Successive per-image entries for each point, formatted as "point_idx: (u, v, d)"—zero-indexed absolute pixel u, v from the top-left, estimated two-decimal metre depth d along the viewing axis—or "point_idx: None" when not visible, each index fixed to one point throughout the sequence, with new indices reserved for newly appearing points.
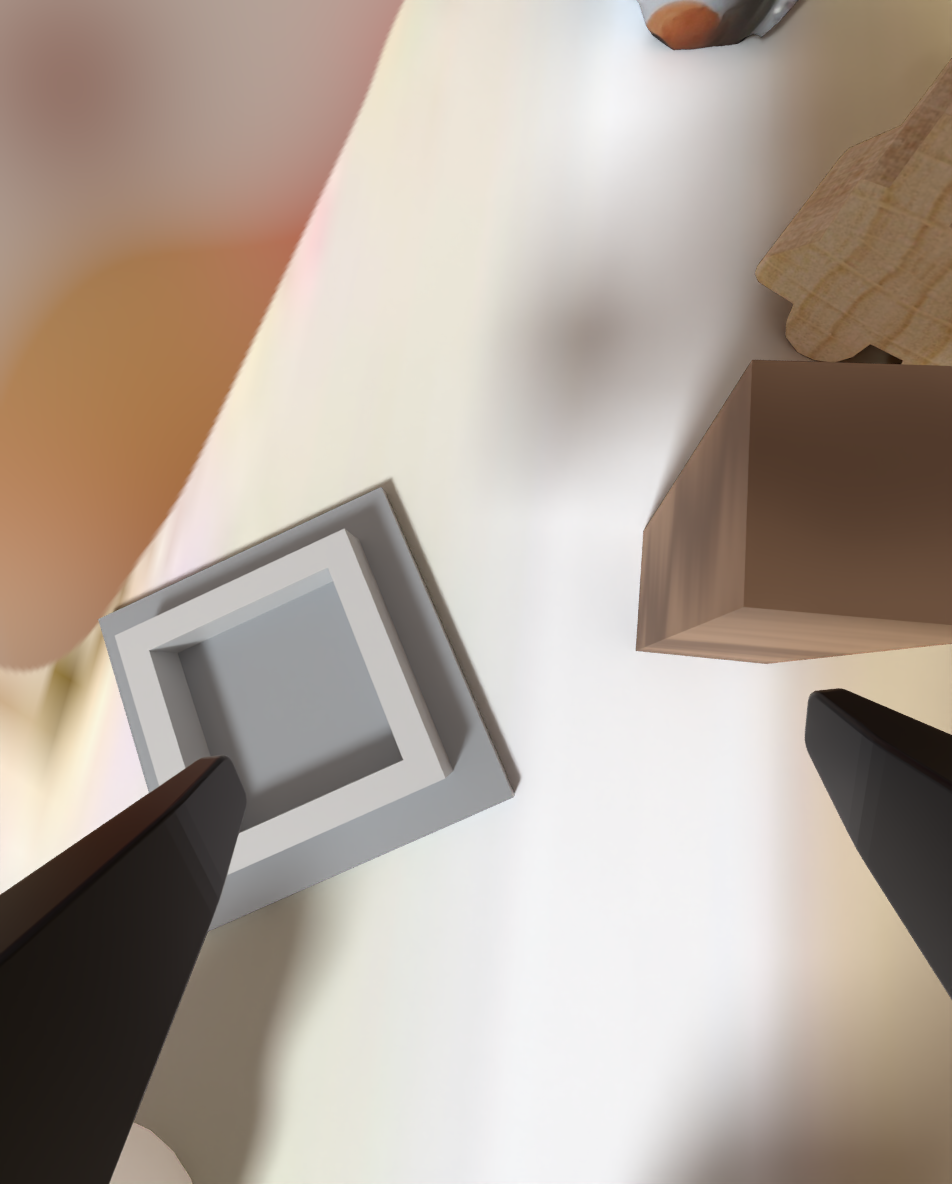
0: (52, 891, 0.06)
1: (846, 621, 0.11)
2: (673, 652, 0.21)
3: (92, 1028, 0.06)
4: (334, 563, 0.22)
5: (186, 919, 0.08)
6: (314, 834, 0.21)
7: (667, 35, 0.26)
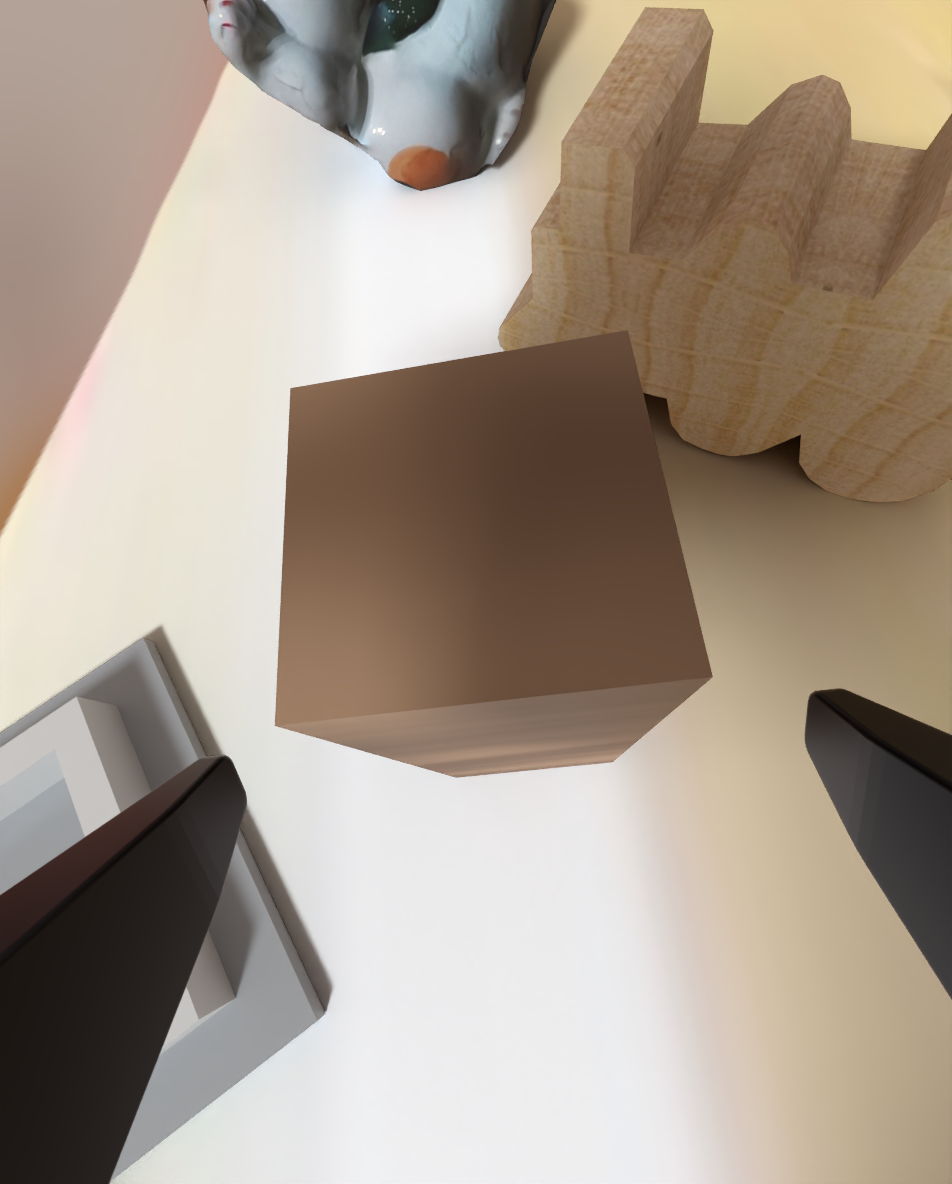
0: (52, 891, 0.06)
1: (456, 714, 0.07)
2: (491, 771, 0.17)
3: (92, 1028, 0.06)
4: (62, 742, 0.18)
5: (186, 919, 0.08)
6: None
7: (408, 179, 0.28)
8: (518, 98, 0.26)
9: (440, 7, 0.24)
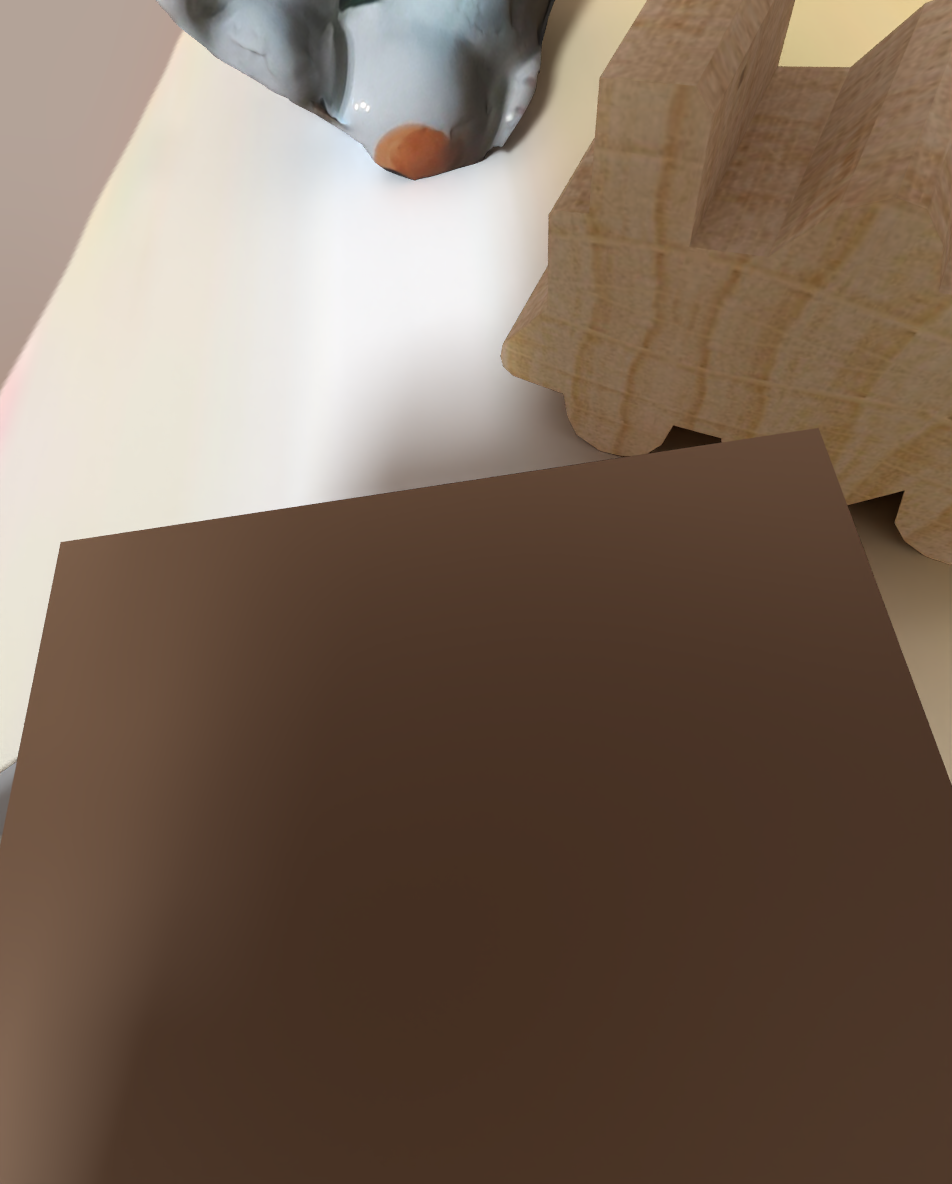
0: None
1: None
2: None
3: None
4: None
5: None
6: None
7: (400, 166, 0.23)
8: (533, 63, 0.21)
9: None
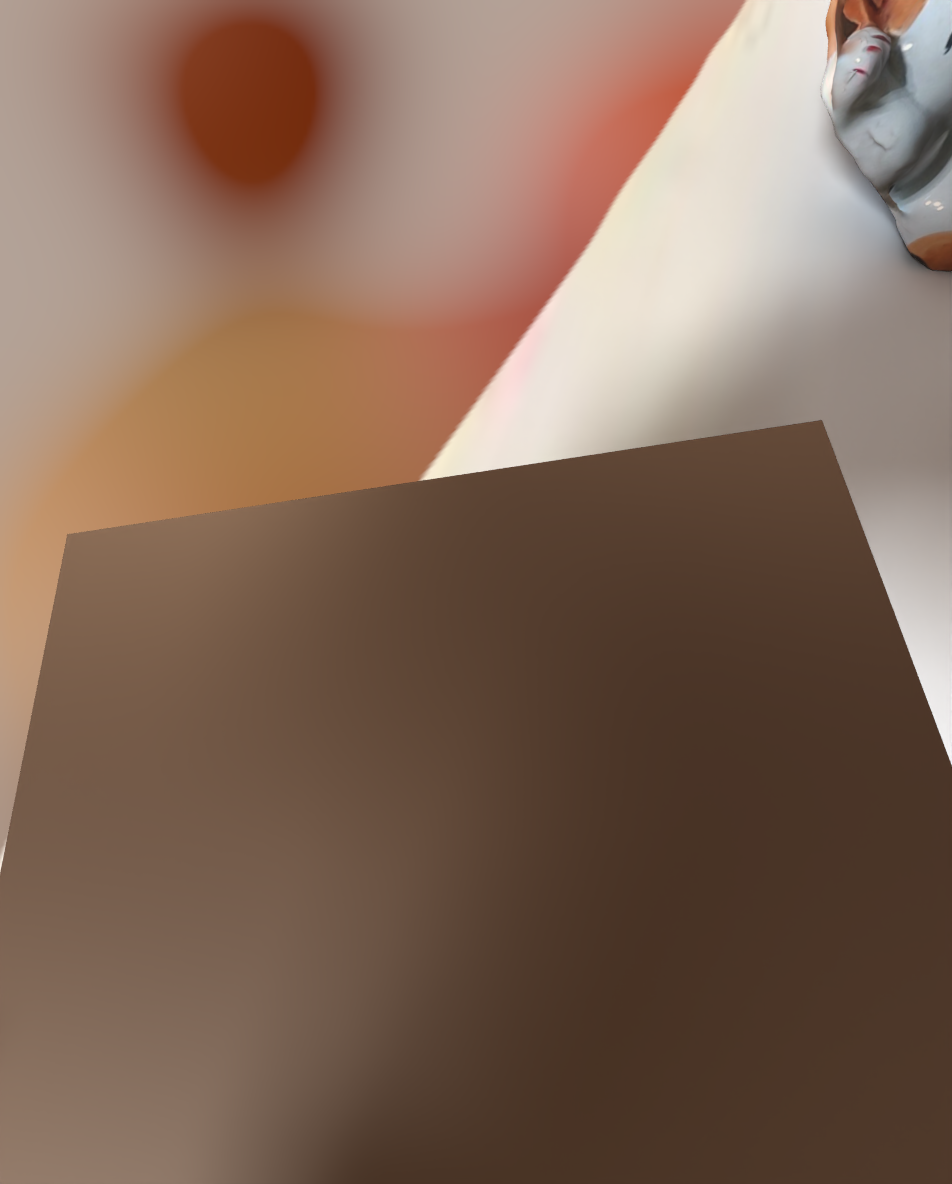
0: None
1: None
2: None
3: None
4: None
5: None
6: None
7: (930, 257, 0.26)
8: None
9: None
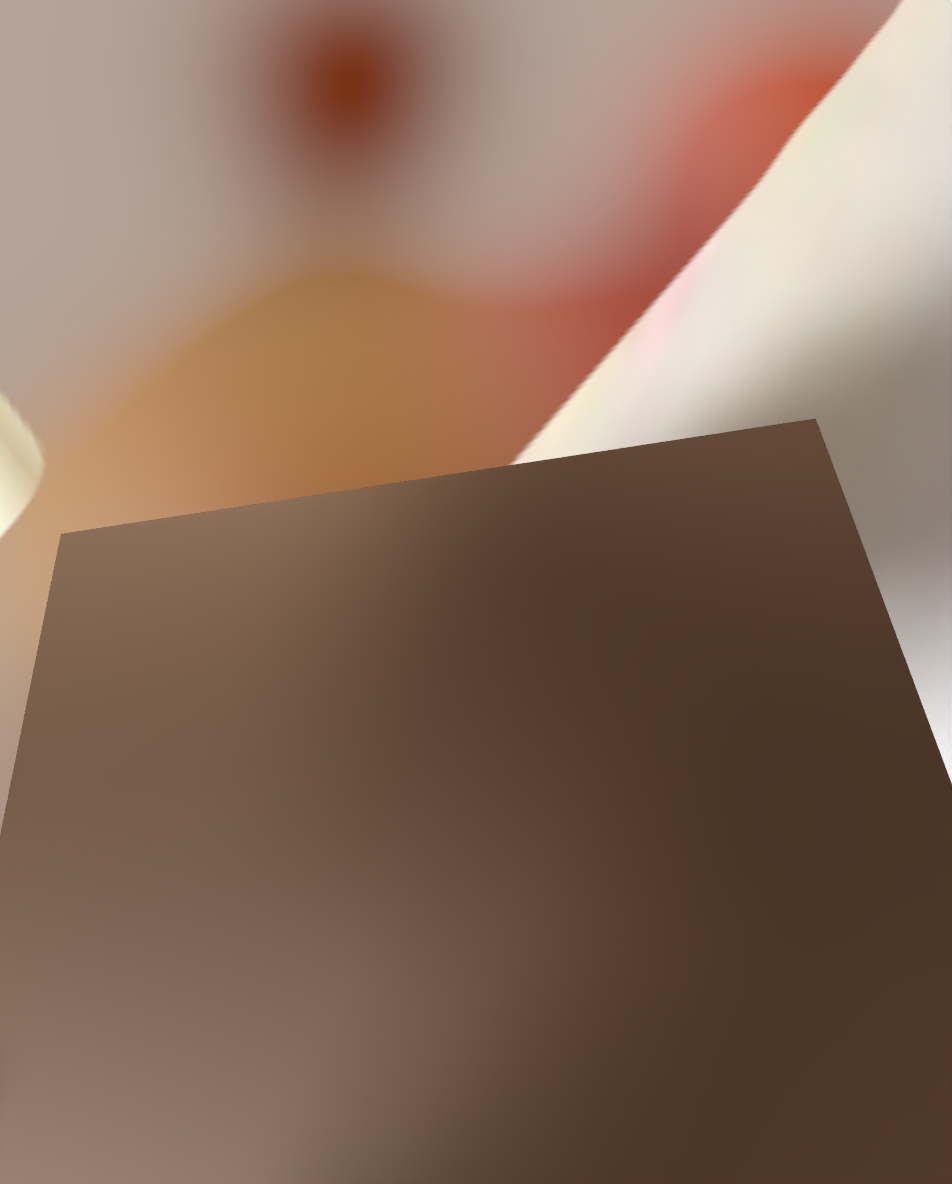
0: None
1: None
2: None
3: None
4: None
5: None
6: None
7: None
8: None
9: None
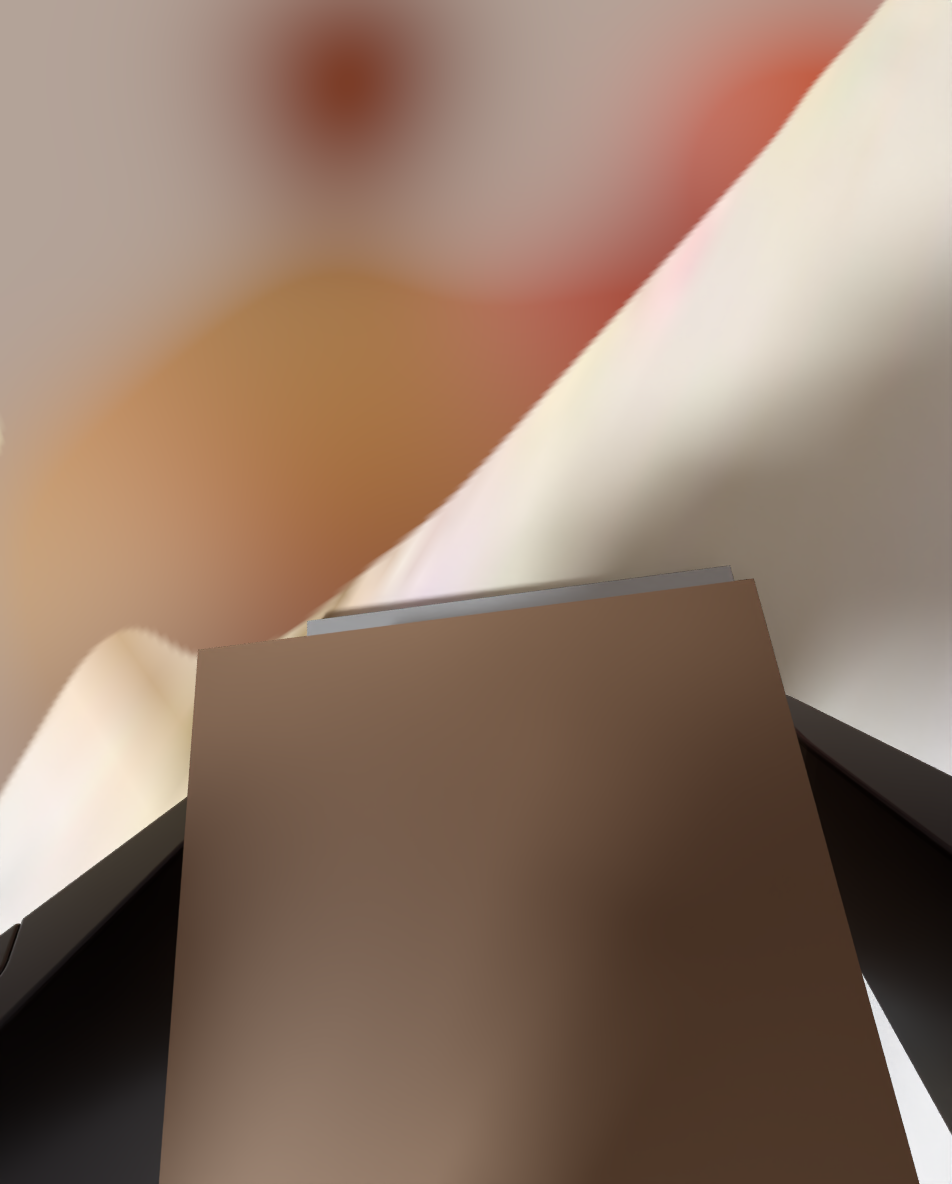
0: (115, 886, 0.06)
1: None
2: None
3: (156, 1024, 0.06)
4: None
5: None
6: None
7: None
8: None
9: None
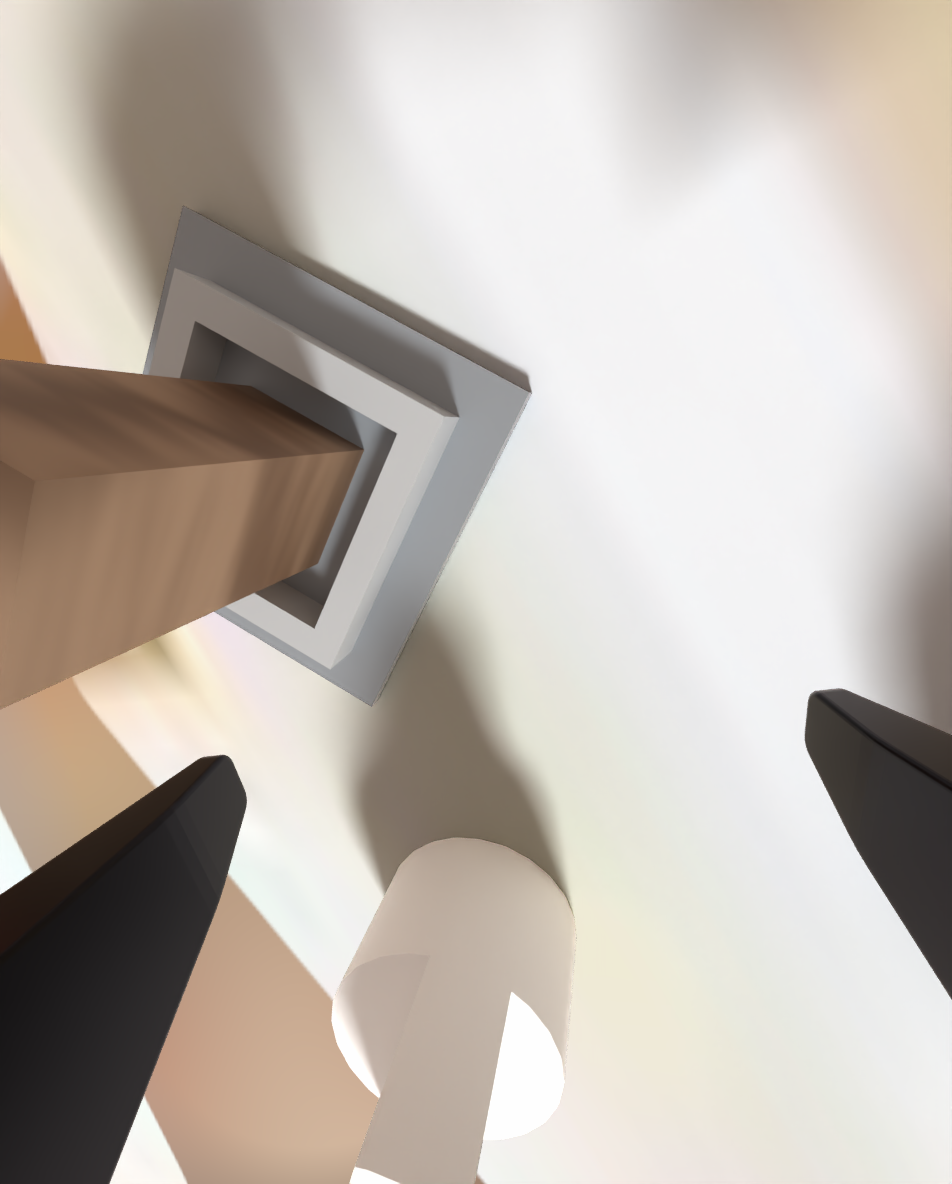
0: (52, 891, 0.06)
1: (40, 617, 0.11)
2: (316, 541, 0.21)
3: (92, 1028, 0.06)
4: (196, 311, 0.19)
5: (186, 919, 0.08)
6: (379, 555, 0.20)
7: None
8: None
9: None
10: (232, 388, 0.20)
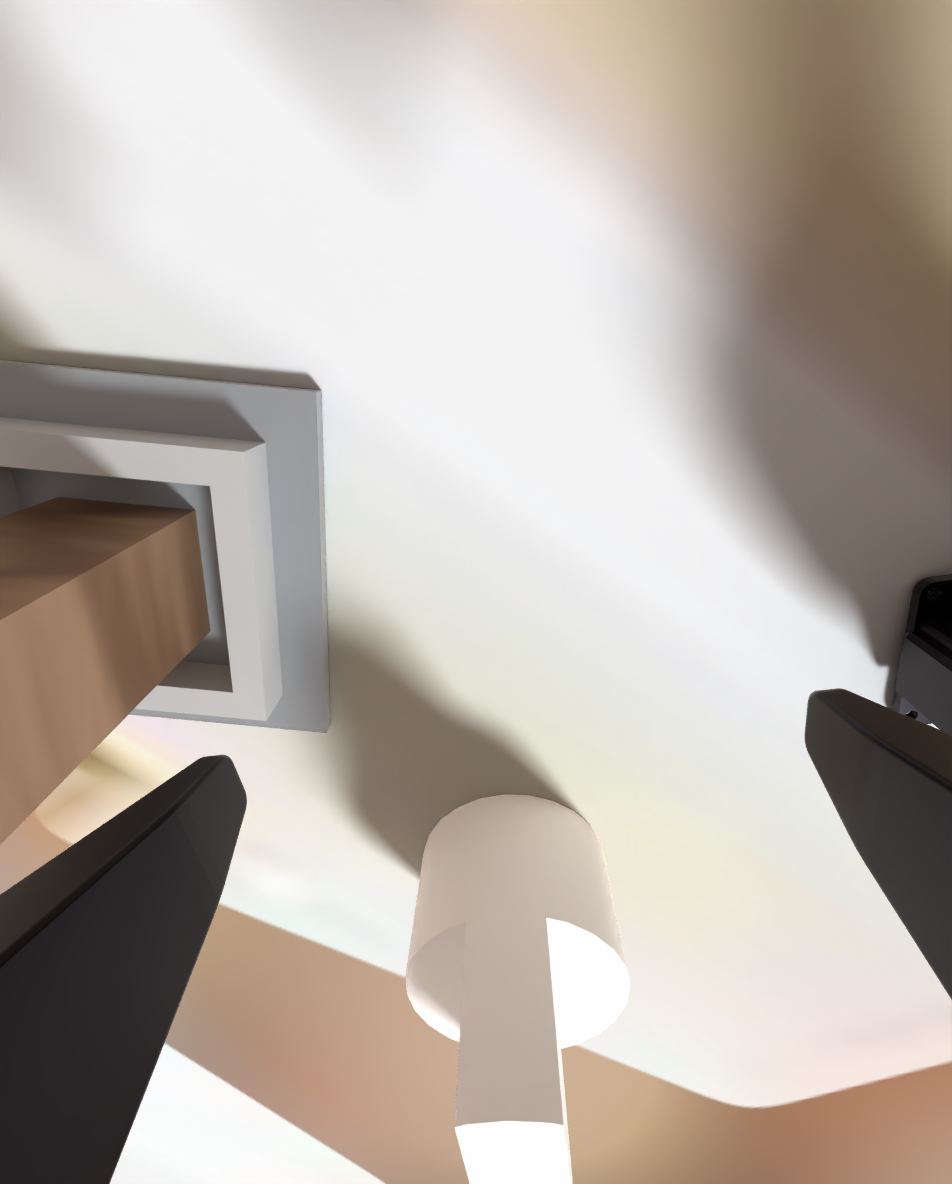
0: (52, 891, 0.06)
1: None
2: (194, 614, 0.21)
3: (92, 1028, 0.06)
4: None
5: (186, 919, 0.08)
6: (254, 602, 0.20)
7: None
8: None
9: None
10: (35, 510, 0.19)
